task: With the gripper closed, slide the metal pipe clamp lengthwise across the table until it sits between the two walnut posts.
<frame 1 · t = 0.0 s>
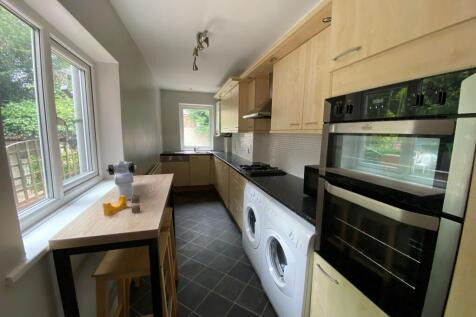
hand: (120, 169, 99), 22 cm above the table, tool horizontal, fingers open, 7 cm apart
left post: (135, 201, 113), on the table
pipe clamp: (115, 211, 101), on the table
right post: (136, 211, 99), on the table
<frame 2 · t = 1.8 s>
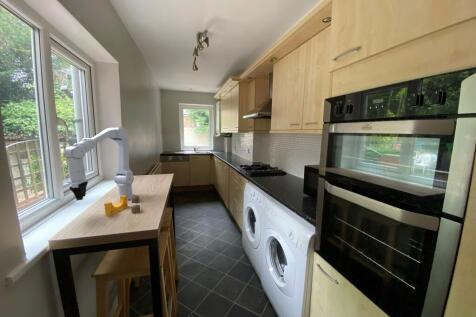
hand: (81, 198, 93), 9 cm above the table, tool pointing down, fingers open, 5 cm apart
nothing on the table moved.
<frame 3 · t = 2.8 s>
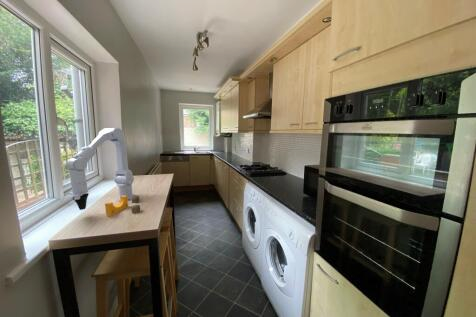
hand: (82, 209, 94), 4 cm above the table, tool pointing down, fingers closed
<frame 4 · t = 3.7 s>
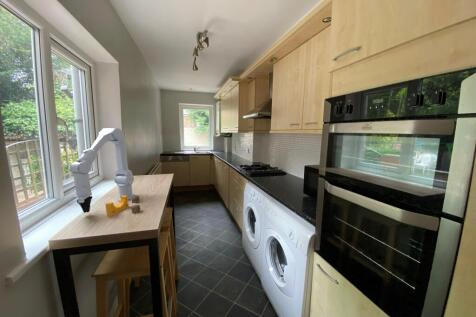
hand: (86, 211, 95), 2 cm above the table, tool pointing down, fingers closed
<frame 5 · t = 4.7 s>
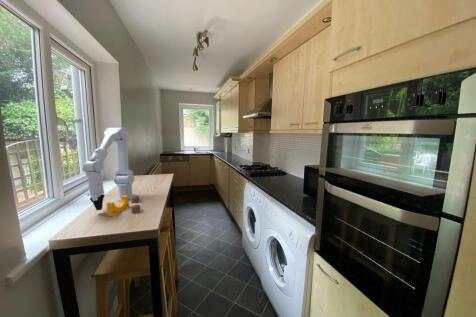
hand: (99, 209, 98), 2 cm above the table, tool pointing down, fingers closed
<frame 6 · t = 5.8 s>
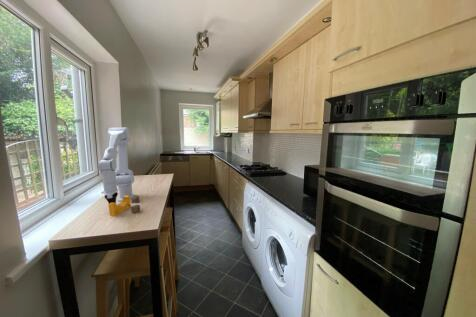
hand: (112, 207, 100), 2 cm above the table, tool pointing down, fingers closed
pipe clamp: (119, 211, 101), on the table, touching gripper
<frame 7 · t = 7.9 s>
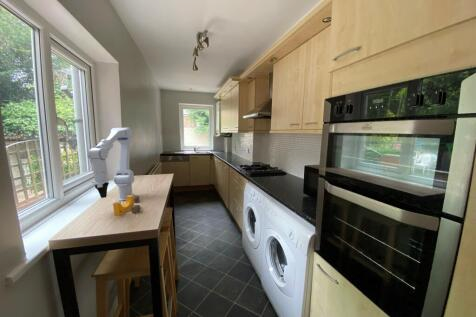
hand: (103, 197, 98), 8 cm above the table, tool pointing down, fingers closed
pipe clamp: (123, 211, 101), on the table
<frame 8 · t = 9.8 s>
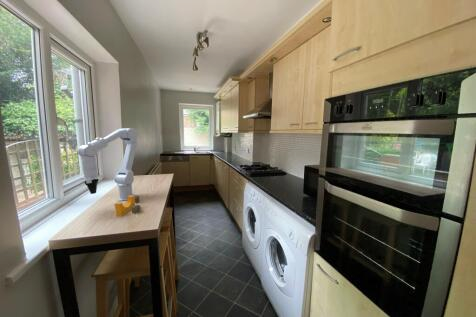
hand: (93, 193, 100), 9 cm above the table, tool pointing down, fingers closed
nothing on the table moved.
at the end: pipe clamp moved 5.8 cm from its start; pipe clamp inside the target area (5.4 cm from its centre), on the table; pipe clamp tilted 0° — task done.
